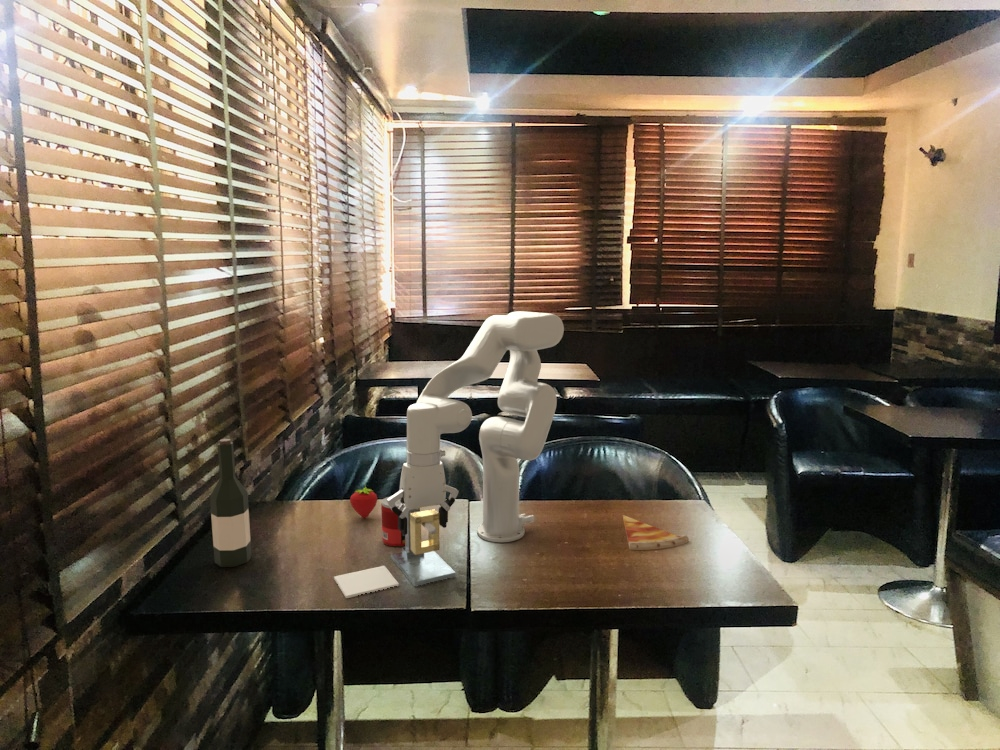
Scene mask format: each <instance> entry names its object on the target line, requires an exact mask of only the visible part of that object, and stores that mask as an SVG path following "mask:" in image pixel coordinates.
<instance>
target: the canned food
mask: <svg viewBox="0 0 1000 750" xmlns="http://www.w3.org/2000/svg"><path fill="white" fill-rule="evenodd" d="M391 496H392V495H389V496H387V497H385V498H383V499H382V500H381V504H380V506H381V507H380V509H381V539H382V542H383V543H384V544H385V545H386V546H388V545H389V547H392V546H401V547H405V546H404V545H405V535H404V534H403V533H402V532H401V531H400V530H399V529H398V515H397V514H395V513H394V512H393V511H392V510H391V509H390V507H389V505H388V503H387V501H386V500H387V499H388V498H389V497H391ZM401 504H402V503H400V500H398V501H396V502H395V505H396V507H397V508H399V507H400V505H401Z"/></svg>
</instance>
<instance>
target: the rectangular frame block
mask: <svg viewBox="0 0 1000 750" xmlns="http://www.w3.org/2000/svg"><path fill="white" fill-rule="evenodd" d="M424 522H430V523H431V524H432V525H433V526H434V527H435V528H436V533H434V534H431V533H430V532H429V531H428V530H427V532H428V540H424V541H422V525H421V523H424ZM410 537H411V551H412V552H413V553H414V554H415V555H418V554H423V553H427V552H432V551H434V552H436V551H440V550H441V549H440V546H441V545H440V524H439V511H437V510H436V509H435V508H433V509H426V510H422V511H421V510H420V512H415V513H410Z"/></svg>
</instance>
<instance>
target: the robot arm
mask: <svg viewBox="0 0 1000 750" xmlns="http://www.w3.org/2000/svg"><path fill="white" fill-rule="evenodd" d="M564 331H565V326H564V323H563V320H562V319H561V318H560V316H558V315H556V314H554V313H550V312H549V313H548V312H535V311H525V310H524V311H523V310H521V311H520V310H518V311H511V312H509V313H508V314H506V315H505V314H493V315H491V316H489V317H487V318H486V319H485V320H484V322H483V323H482V325H481V327H480V328H479V330H478V331H477V333H476V334H475V336H474V337H473V339H472V340H471V341H470V344H469V346H468V347H467V348H466V350H465V352H464V353H463V355H462V356H461V357H460V358H459V359H458V360H456V361H454V362H453V363H450V364H449V365H448V366H446V367H445V368H443V369H441V370H440V371H439V372H438V373H436V374H435V375H434V376H432V378H431V379H430V380H429V381H428V382H427V384H426V385H425V387H424V389H422V392H421V393H420V395H419V397H418V399H417V400H416V402H415V403H413V404H410V405H409V406H408V408H407V410H406V462H404V463H403V464H402V467H401V474H400V480H399V490H398V491H397V492H395V493H394V494H393V495H390V496H391V497H390V496H388V497H389V498H388V499H387V500H386V501H387V503H388V505H389V507H390V509H391V510H392V511H393V512H394V513H395V514H397V515H398V529H399V530H400V531H401V532H402V533H403V534H404V535H407V518H406V517H405V516H406V515H407V513H408V512H409V510H410V509H416V508H420V509H423V508H429V507H433V506H434V507H435V506H440V507H439V508H438V513H439V526H441V527H442V528H444V529H445V528H447V523H448V522H449V511H450V510H451V507H452V506H453V505H454V503H455V502H456V499H457V497H458V495H459V491H460V490H458V489H457V488H455V487H453V486H451V485H448V484H446V475H445V469H444V463H443V462H442V460H441V459H442V458H443V457H446V451H445V449H443V450H442V449H441V435H442V434H455V433H456V434H457V433H460V432H463V431H464V430H466V429H467V428H468V427H469V425H470V424H471V422H472V418H473V413H472V412H473V411H472V410H471V408H470V406H469V404H467V403H466V402H464V401H461V400H457V399H452V398H448V397H449V396H450V395H451V394H453V393H455V392H456V391H458V390H460V389H461V388H464V387H467V386H470V385H471V386H472V385H475V384H478V383H481V382H484V381H487V380H488V379H490V378H491V377H492V376H493V374H494V372H495V370H496V368H497V367H498V365H499V364H500V362H501V360H502V359H503V357H504V355H505V354H506V352H507V351H509V355H510V356H509V362H508V366H507V370H506V372H505V375H504V379H503V381H502V384H501V386H500V390H499V393H498V397H497V407H498V408H499V409H500V410H501V411H502V412H504V413H505V414H509V415H513V416H516V417H517V416H518V417H523V418H525V420H518V419H515V418H511V417H504V416H491V417H489V418H487V419H485V420H484V421H483V422H482V424H481V426H480V427H479V428H480V429H479V433H478V440H479V445H480V451H481V455H482V472H483V473H482V523H480V525H478V527H477V530H476V533H477V535H478V537H479V538H481V539H482V540H485V541H487V542H492V543H510V542H514V541H515V542H516V541H517V540H520V539H521V538H523V537H524V535H525V527H524V526H525V525H526V524H530V523H535V521H536V518H535V516H534V514H530V515H526V513H521V514H520V467H519V463H518V460H517V459H519V460H522V461H533V460H536V459H537V458H538V457H539V456H540V454H542V451H543V449H544V446H545V444H546V441H547V438H548V434H549V432H550V429H551V425H552V422H553V420H554V418H555V417H554V416H555V412H556V409H557V402H558V400H557V393H556V391H555V389H554V387H552V386H551V385H549V384H547V383H545V382H539V381H538V379H539V375H540V372H541V368H542V363H541V361H542V360H541V358H540V354H539V353H538V350H544V349H548V348H552V347H555V346H556V345H557V344H559V343H560V341H561V340H562V339H563V336H564ZM447 493H450V494H449V496H448V497H447ZM398 500H400V503H402V504H401V505H400V507H399V508H397V507H396V505H395V502H396V501H398Z"/></svg>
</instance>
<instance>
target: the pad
mask: <svg viewBox="0 0 1000 750" xmlns="http://www.w3.org/2000/svg"><path fill="white" fill-rule="evenodd" d="M333 580H334V581H335V583H336V585H337V584H338V585H337V586H338V588H339V589H340V591H341V592H342V594H343V596H344V598H345V599H349V598H354V597H358V595H359V596H361V594H363V595H366V594H365V593H367V594H370V592H372V593H375V591H376V592H379V591H378V590H380V591H384V590H388V589H387V588H389V589H391V588H390V587H393V588H395V587H394V586H397V587H399V586H400V583H399V582H398V581H397V579H396V578H395V577H394V575H392V573H391V572H390V570H389V569H388V568H387V567H386V565H380V566H377V567H376V566H375V567H371V568H367V569H363V570H359V571H358V570H357V571H352V572H349V573H344V574H339V575H336V576H335V575H334V576H333ZM383 589H384V590H383Z"/></svg>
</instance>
